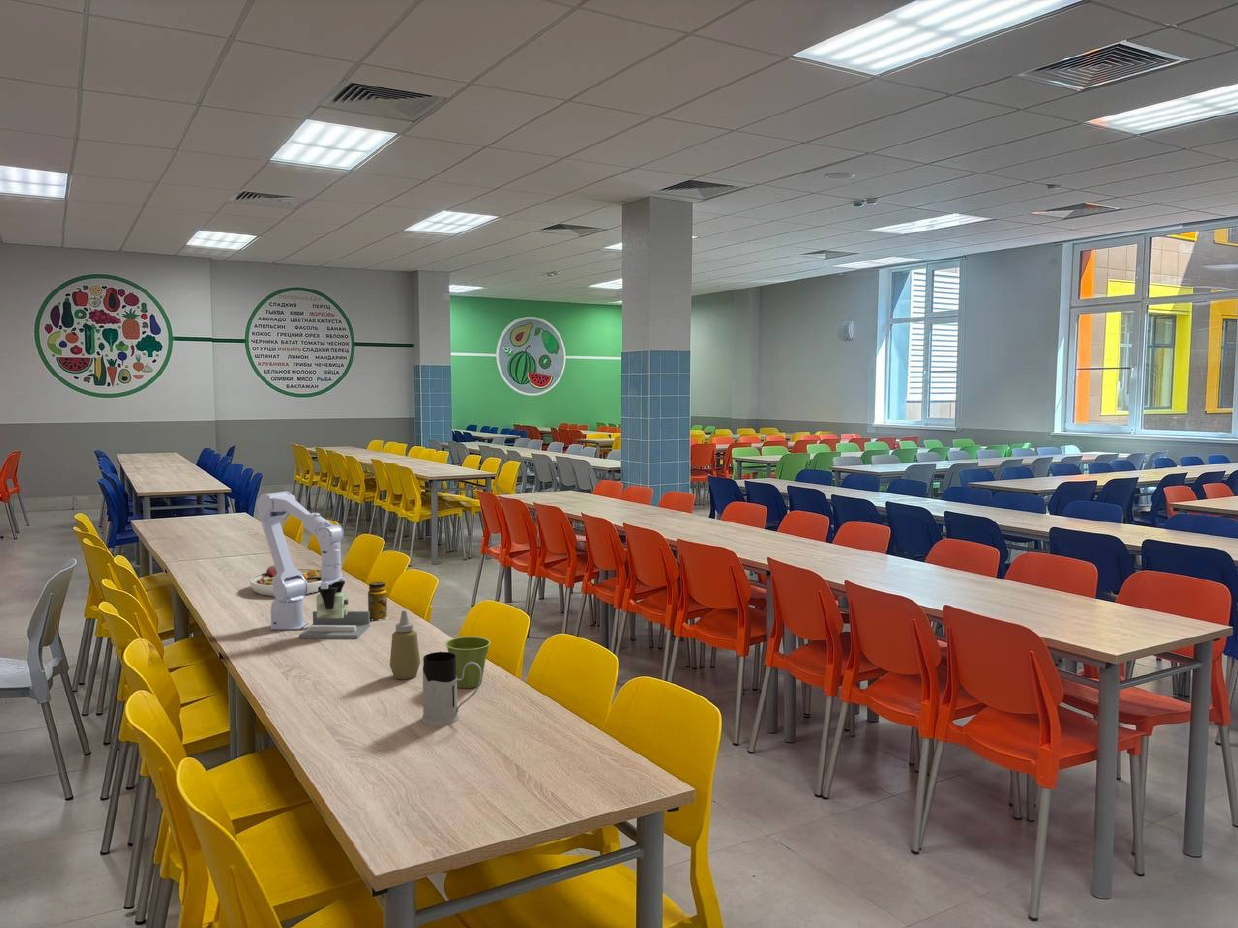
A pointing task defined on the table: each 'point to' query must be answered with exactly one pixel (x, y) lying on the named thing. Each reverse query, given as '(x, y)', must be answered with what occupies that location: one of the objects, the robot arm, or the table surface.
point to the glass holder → (441, 689)
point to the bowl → (265, 586)
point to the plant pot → (468, 658)
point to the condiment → (377, 601)
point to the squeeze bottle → (404, 650)
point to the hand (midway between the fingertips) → (332, 606)
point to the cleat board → (346, 620)
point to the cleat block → (338, 607)
